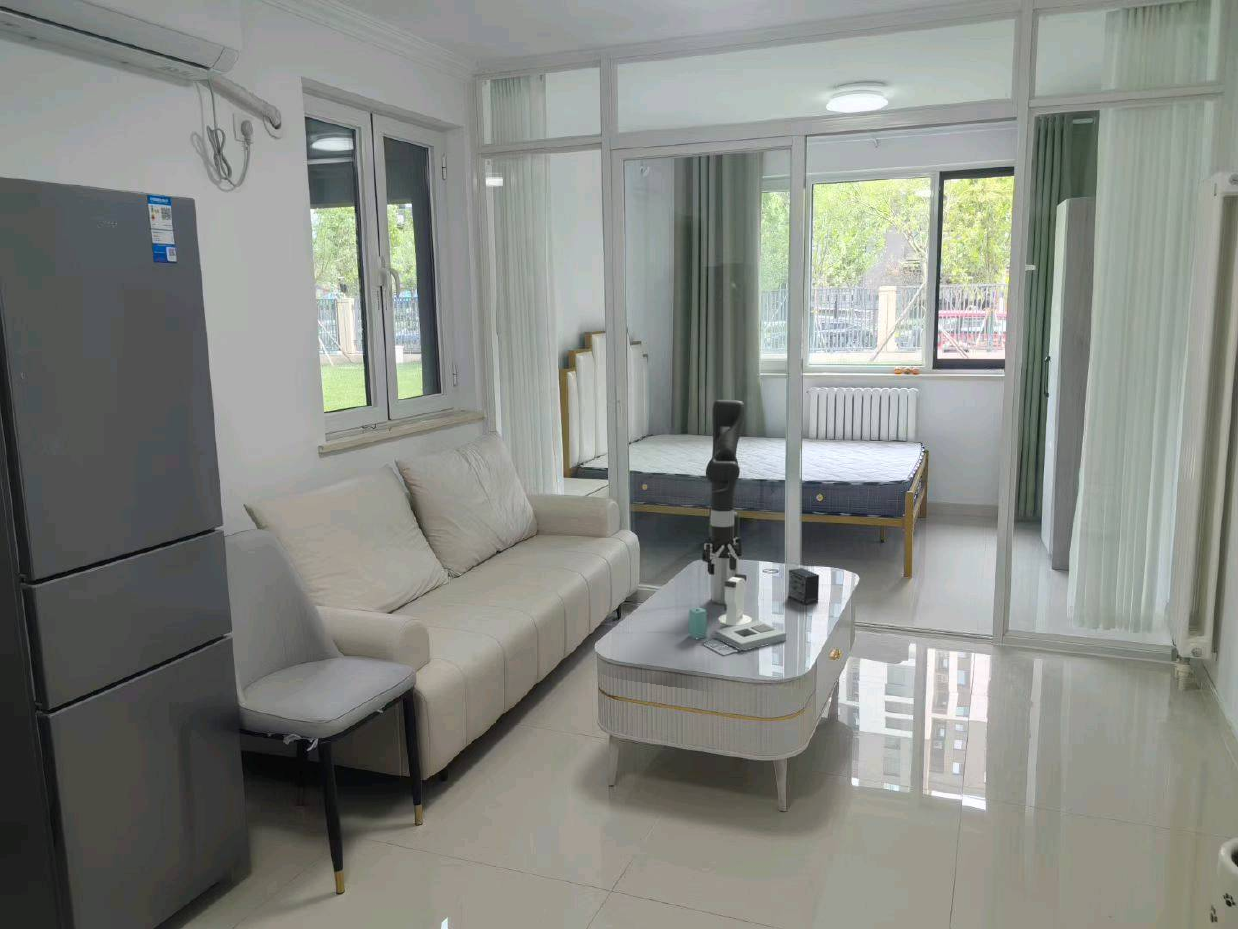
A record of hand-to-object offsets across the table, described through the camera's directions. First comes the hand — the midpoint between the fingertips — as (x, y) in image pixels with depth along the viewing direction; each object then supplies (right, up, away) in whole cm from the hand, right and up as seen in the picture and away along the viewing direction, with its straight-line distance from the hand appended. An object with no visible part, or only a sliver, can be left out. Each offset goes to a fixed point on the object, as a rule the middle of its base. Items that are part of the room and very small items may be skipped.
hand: (721, 572), depth 300 cm
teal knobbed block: (-7, -22, +5) cm, 23 cm away
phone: (-1, -24, -5) cm, 25 cm away
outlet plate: (+9, -22, +2) cm, 24 cm away
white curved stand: (+7, -19, +20) cm, 28 cm away
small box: (+34, -15, +40) cm, 55 cm away
